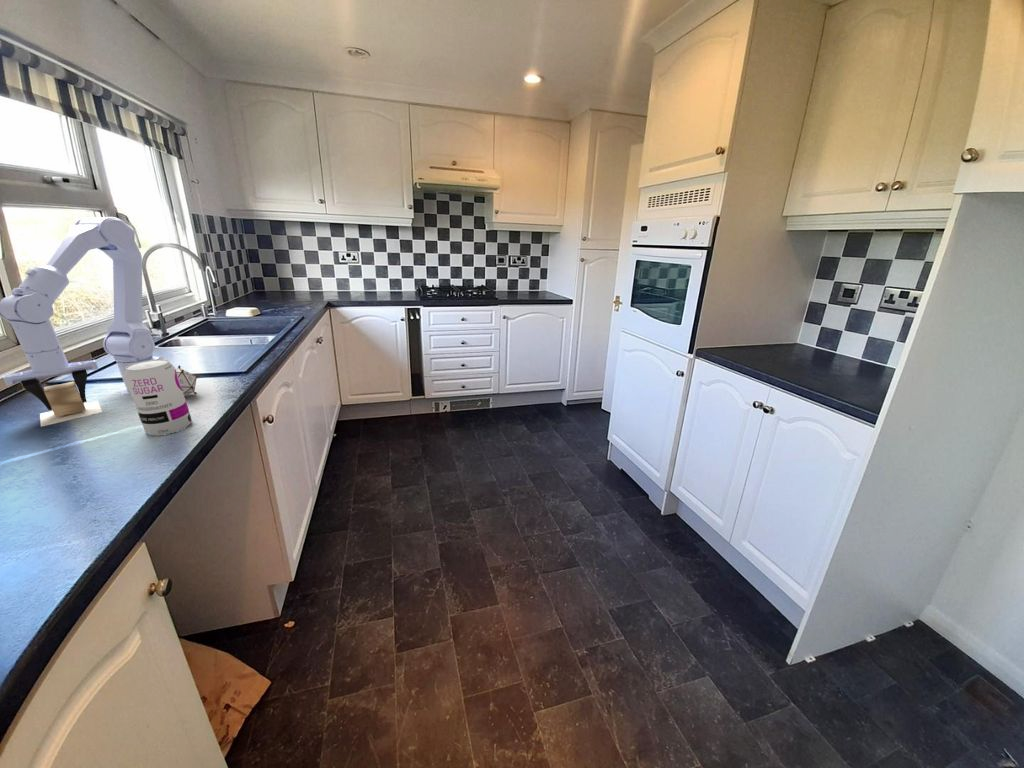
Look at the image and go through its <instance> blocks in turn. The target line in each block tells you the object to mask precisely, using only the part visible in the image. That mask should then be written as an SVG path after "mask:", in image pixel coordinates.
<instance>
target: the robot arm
mask: <svg viewBox="0 0 1024 768" xmlns="http://www.w3.org/2000/svg"><path fill="white" fill-rule="evenodd" d="M67 231H68V232H67V235H66V236H65V238H64V240H63V241H62V242H61V243H60V245H59V247H58V248H57V250H55V252H54V254H53V255H52V256H51V258H50V259H49V261H48V262H47V264H46V265H43V266H42V265H41V266H35V267H33V268H28V269H27V270H26V272H24V273H25V274H26V275H27V276H26V277H25V278H24V279H23V281H22V282H21V283H20V284H19V286H17V287H13V289H12V290H11V293H12V294H13V295H8V296H6V297H3V298H1V300H0V317H1V319H4V320H5V321H7V322H9V323H10V325H11V328H12V329H13V332H14V334H15V336H16V338H17V340H18V343H19V344H20V347H21V349H22V351H23V353H24V355H25V357H26V359H27V361H28V364H29V366H30V368H31V369H28V370H24V371H20V372H19V371H18V372H14V373H10V374H6V375H5V374H4V375H2V379H3V381H4V384H5V385H6V386H7V387H8V386H13V385H15V384H21V385H22V387H23V388H24V389H25V390H26V391H27V392H29V393H30V394H32V395H33V396H35V397H36V398H37V399H38V400H39V401H41V402H42V404H43V405H44V406H45V407H46V409H47V410H48V411H53V410H52V408H51V406H50V404H49V402H48V399H47V397H46V395H45V393H44V387H43V385H42V383H41V379H42V380H43V379H48V378H52V377H53V378H54V377H58V376H64V375H70V374H71V376H72V378H73V382H75V384H76V387H77V389H78V391H79V394H80V397H81V399H82V402H83V403H84V404H85V403H88V402H87V401H88V400H87V397H86V384H87V380H88V372H87V371H90V370H92V371H94V370H99V367H98V364H97V361H96V360H95V359H93V360H91V359H90V360H83V361H77V362H75V361H74V362H69V361H68V359H67V357H66V354H65V352H64V349H63V347H62V345H61V343H60V340H59V338H58V335H57V333H56V331H55V329H54V326H53V325H52V322H51V320H50V318H51V317H52V318H53V316H54V307H53V304H54V303H55V302H56V301H57V300H58V298H59V297H60V296H61V294H62V293H63V292H64V290H65V289H66V288H67V286H68V285H69V284H70V281H69V278H68V275H67V274H69V273H70V272H71V270H73V268H75V266H76V265H77V264H78V263H79V261H81V260H82V259H83V257H84V256H85V255H87V253H89V251H90V250H95V249H98V250H99V251H102V252H103V253H104V254H105V255H107V257H109V258H110V259H112V270H113V271H112V275H113V278H112V279H113V284H112V285H113V289H112V290H113V322H112V323H111V324H110V325H109V326H108V327H107V328H106V329H107V330H106V331H107V332H106V335H105V337H104V338H103V342H102V346H103V347H102V348H103V349H104V351H105V352H106V353H107V354H108V355H110V356H112V357H113V358H114V360H115V363H116V365H117V368H118V371H119V373H120V376H121V378H122V381H123V383H124V386H125V388H126V389H125V390H124V391H122V392H121V393H120V395H131V393H130V391H129V388H128V385H127V383H126V380H125V377H124V374H125V371H126V367H127V366H129V365H131V364H134V363H138V362H142V361H148V360H156V359H165V358H164V357H163V356H154V355H153V354H154V353H155V349H156V344H155V342H154V340H153V337H152V331H151V329H149V328H148V327H147V326H146V325H145V324H144V322H143V255H142V254H141V250H140V248H139V246H138V245H137V242H136V241H135V236H136V235H135V230H134V229H133V228H131V227H130V225H128V224H127V223H126V222H125V221H124V220H123V219H120V218H118V217H116V216H115V217H114V216H106V217H88V216H84V217H80V218H78V219H76V221H75V223H74V224H73V225H71V226H70V227H69V228H68V230H67Z"/></svg>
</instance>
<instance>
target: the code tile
mask: <svg viewBox="0 0 1024 768" xmlns="http://www.w3.org/2000/svg"><path fill="white" fill-rule="evenodd" d="M84 406H85V409H86V410H83V411H79V412H75V413H70V414H66V415H62V416H57V417H55V414H54V412H53V410H49V411H46V412H42V413H39V420H40V427H45V426H49V425H53V424H54V425H55V424H58V423H63V422H67V421H71V420H75V419H79V418H84V417H87V416H92V415H96V414H100V413H103V411H102V408H101V406H100V403H99V401H98V400H96V401H91V402H85V403H84Z"/></svg>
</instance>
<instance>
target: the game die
mask: <svg viewBox="0 0 1024 768" xmlns="http://www.w3.org/2000/svg"><path fill="white" fill-rule="evenodd" d="M175 369H176V372H177V375H178V379H179V382H180V385H181V388H182V391H183V394H184V397H185V396H188V395H191V394H195V395H197V394H198V392H196V391H195V389H196V385H197V379H198V377H199V378H200V377H201V374H197V375H195V374H193V373H191V372H188V371H187V370H184V369H182V367H181V365H180V364H179V365H177V368H175Z"/></svg>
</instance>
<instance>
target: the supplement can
mask: <svg viewBox="0 0 1024 768" xmlns="http://www.w3.org/2000/svg"><path fill="white" fill-rule="evenodd" d="M176 369H177V368H176V367H175V365H173V364H172V363H171V362H170V361H169V359H165V358H164V359H156V360H148V361H142V362H138V363H134V364H131V365H129V366H127V367H126V371H125V374H124V377H125V380H126V383H127V385H128V388H129V391H130V393H131V394H130V396H131V399H132V402H133V403H134V406H135V409H136V413H137V414H138V416H139V419H140V421H141V422H140V423H141V425H142V427H143V430H144V432H145V433H146V434H149V435H150V434H151V436H153V435H162V436H165V435H164V434H168V435H171V434H170V433H172V434H175V433H174V432H176V433H177V431H178V432H181V431H183V430H185V429H187V428H188V427H189V426H190V425H191V423H192V421H193V419H192V416H191V413H190V410H189V407H188V404H187V401H186V398H185V396H184V394H183V391H182V388H181V385H180V382H179V379H178V375H177V372H176ZM188 425H189V426H188ZM187 426H188V427H187ZM186 427H187V428H186ZM184 428H185V429H184ZM182 429H183V430H182ZM180 430H181V431H180Z"/></svg>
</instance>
